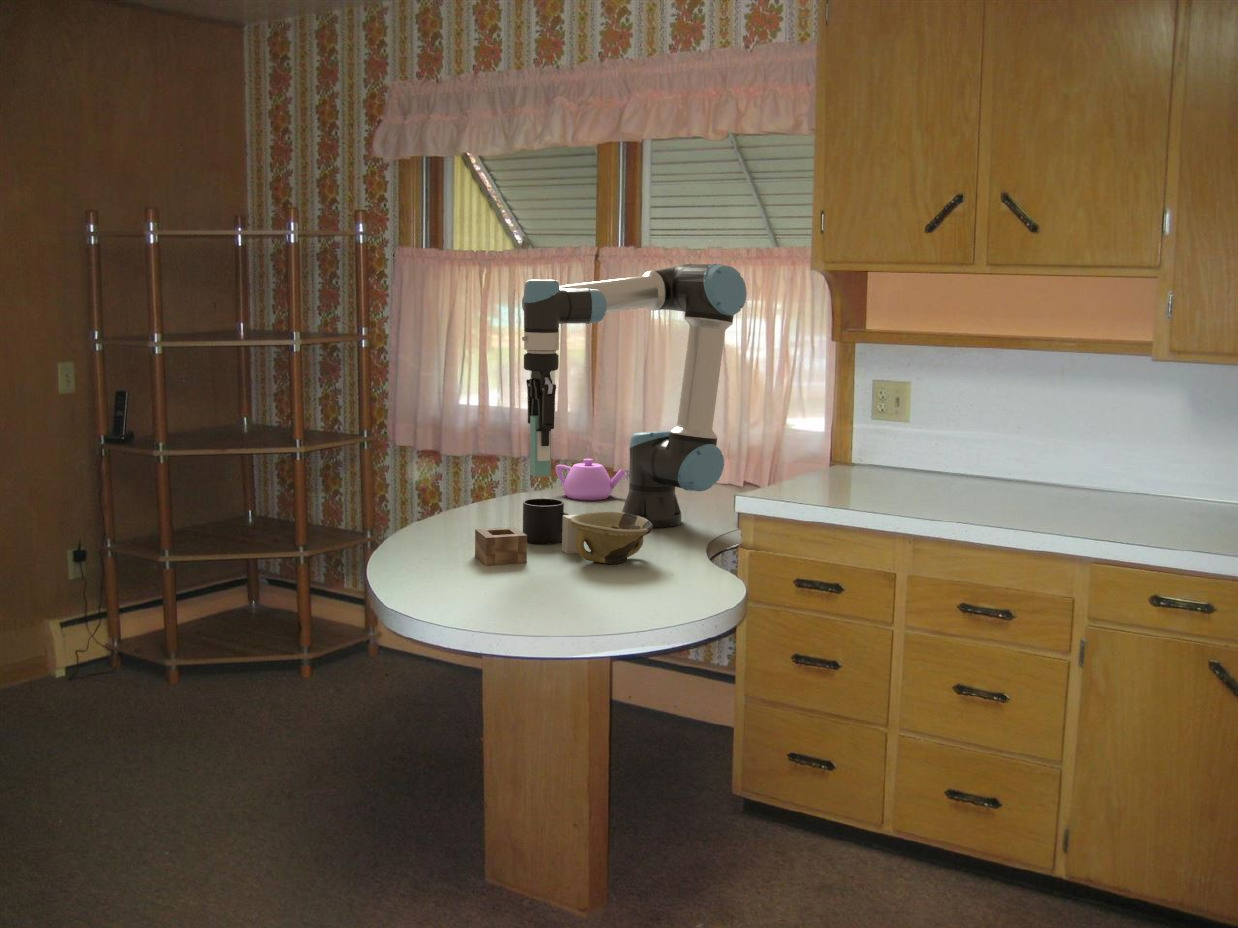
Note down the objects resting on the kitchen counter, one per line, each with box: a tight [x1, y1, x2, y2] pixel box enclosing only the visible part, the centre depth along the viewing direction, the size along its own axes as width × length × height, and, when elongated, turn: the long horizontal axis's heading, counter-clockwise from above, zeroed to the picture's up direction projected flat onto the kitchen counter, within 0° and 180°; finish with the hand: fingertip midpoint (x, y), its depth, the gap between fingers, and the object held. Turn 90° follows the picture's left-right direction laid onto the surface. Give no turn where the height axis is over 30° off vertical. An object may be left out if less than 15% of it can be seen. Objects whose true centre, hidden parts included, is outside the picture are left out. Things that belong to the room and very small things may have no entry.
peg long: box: [529, 416, 552, 478], centre depth 264 cm, size 4×4×13 cm
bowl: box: [570, 511, 653, 565], centre depth 261 cm, size 18×18×10 cm
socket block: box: [474, 526, 528, 566], centre depth 261 cm, size 9×9×6 cm
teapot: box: [555, 458, 627, 501], centre depth 336 cm, size 14×20×11 cm
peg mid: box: [561, 514, 579, 555], centre depth 270 cm, size 4×4×8 cm
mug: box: [522, 498, 570, 545], centre depth 280 cm, size 9×12×9 cm
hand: (540, 458), depth 264 cm, fingers closed on peg long, 4 cm apart
